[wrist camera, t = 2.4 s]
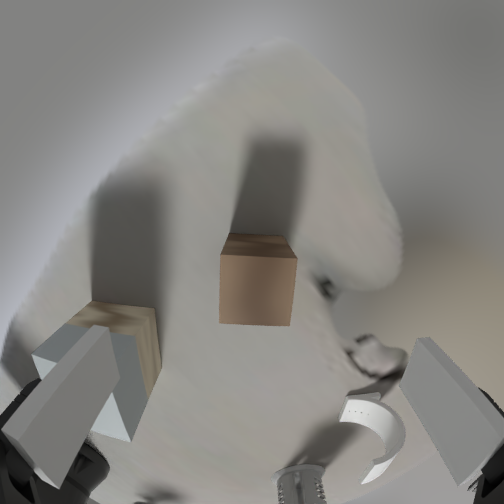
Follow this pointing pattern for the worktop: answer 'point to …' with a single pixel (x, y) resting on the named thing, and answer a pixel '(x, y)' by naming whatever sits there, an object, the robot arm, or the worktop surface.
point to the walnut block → (256, 280)
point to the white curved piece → (375, 428)
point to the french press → (300, 484)
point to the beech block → (127, 332)
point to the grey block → (125, 392)
